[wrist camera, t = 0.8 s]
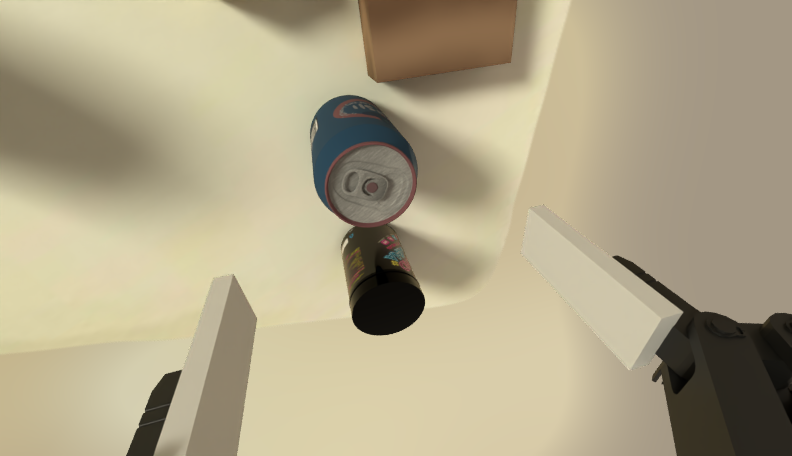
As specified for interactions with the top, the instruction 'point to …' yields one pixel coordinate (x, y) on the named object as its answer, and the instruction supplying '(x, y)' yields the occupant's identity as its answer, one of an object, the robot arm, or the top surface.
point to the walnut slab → (435, 36)
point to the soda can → (361, 162)
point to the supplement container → (380, 281)
